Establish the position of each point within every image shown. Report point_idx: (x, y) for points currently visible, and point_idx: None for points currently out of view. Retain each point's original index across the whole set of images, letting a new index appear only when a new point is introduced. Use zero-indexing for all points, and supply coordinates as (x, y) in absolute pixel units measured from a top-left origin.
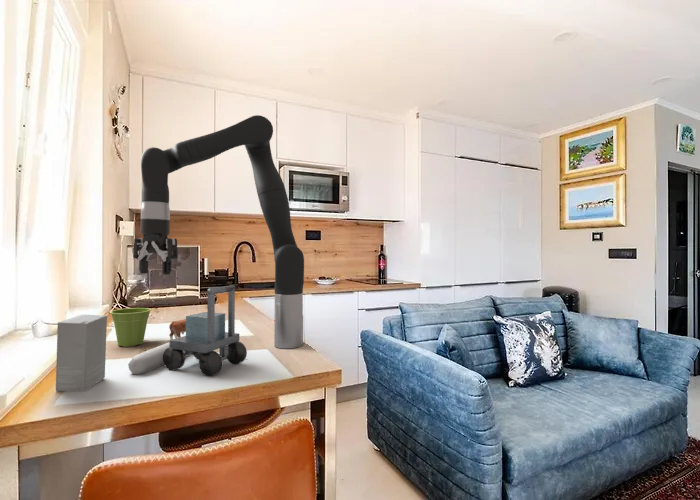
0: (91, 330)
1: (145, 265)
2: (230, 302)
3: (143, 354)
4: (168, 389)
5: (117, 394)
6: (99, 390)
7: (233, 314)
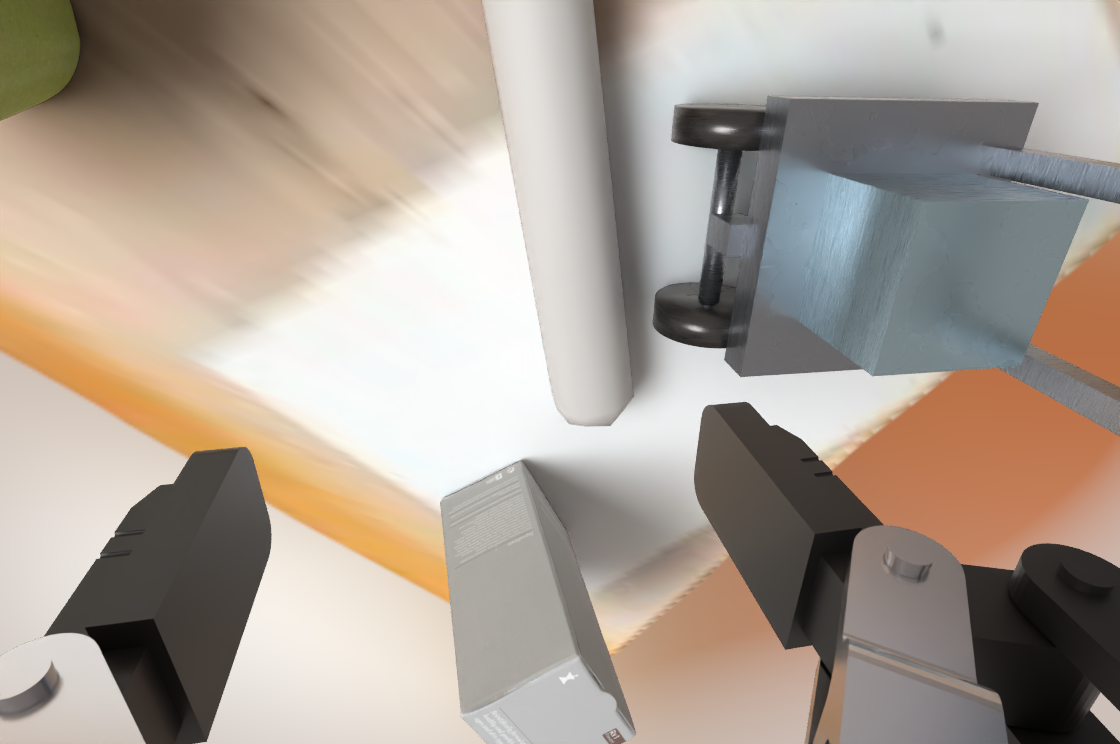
0: (616, 684)
1: (216, 588)
2: None
3: (602, 391)
4: (795, 429)
5: (679, 507)
6: (603, 513)
7: None
